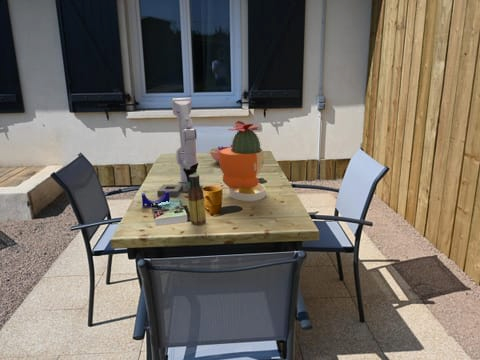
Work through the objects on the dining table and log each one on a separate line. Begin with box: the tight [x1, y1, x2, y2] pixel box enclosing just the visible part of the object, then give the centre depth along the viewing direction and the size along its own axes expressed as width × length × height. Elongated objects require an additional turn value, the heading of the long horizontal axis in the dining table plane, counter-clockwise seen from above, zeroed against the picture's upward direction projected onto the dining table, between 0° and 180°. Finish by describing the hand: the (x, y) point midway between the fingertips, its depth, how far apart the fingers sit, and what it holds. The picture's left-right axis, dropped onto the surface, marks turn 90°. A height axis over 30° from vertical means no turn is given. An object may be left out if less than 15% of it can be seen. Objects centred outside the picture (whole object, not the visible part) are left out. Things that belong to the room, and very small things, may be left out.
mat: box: [181, 185, 204, 194], centre depth 207 cm, size 9×9×1 cm
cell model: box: [208, 144, 232, 164], centre depth 258 cm, size 17×20×11 cm
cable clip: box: [141, 190, 171, 209], centre depth 187 cm, size 12×4×6 cm, turn 107°
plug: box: [186, 171, 197, 190], centre depth 206 cm, size 4×4×8 cm
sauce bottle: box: [187, 173, 207, 226], centre depth 162 cm, size 7×6×20 cm
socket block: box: [156, 184, 184, 197], centre depth 203 cm, size 11×10×2 cm
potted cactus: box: [219, 120, 266, 202], centre depth 193 cm, size 22×22×35 cm
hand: (191, 179), depth 206 cm, fingers open, 7 cm apart
